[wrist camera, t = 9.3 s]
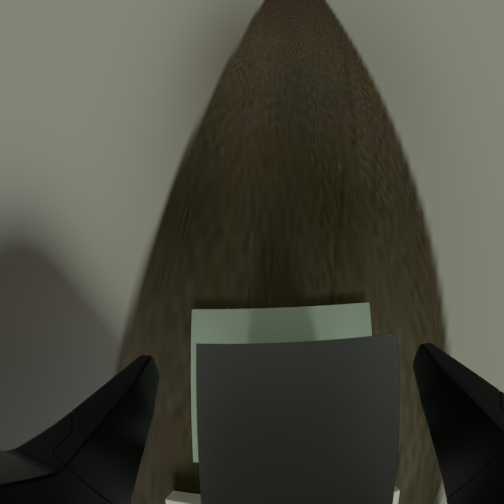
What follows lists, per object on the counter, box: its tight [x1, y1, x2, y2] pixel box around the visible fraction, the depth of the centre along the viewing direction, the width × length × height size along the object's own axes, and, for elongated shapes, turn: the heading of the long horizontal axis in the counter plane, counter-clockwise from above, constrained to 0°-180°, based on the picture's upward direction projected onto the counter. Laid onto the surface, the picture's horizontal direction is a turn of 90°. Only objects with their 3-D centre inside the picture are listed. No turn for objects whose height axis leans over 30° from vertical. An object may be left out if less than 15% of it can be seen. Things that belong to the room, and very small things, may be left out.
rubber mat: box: [191, 302, 372, 462], centre depth 15 cm, size 9×10×1 cm
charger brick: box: [196, 333, 400, 504], centre depth 10 cm, size 4×4×10 cm
